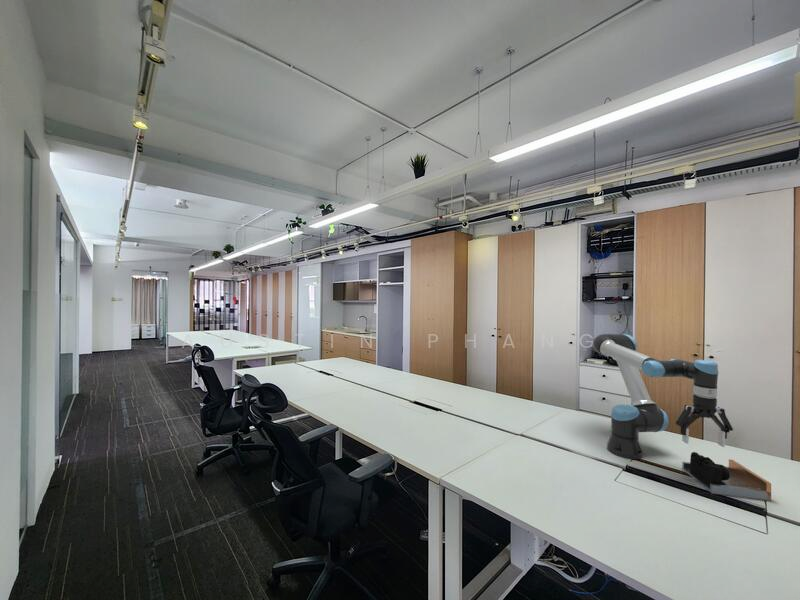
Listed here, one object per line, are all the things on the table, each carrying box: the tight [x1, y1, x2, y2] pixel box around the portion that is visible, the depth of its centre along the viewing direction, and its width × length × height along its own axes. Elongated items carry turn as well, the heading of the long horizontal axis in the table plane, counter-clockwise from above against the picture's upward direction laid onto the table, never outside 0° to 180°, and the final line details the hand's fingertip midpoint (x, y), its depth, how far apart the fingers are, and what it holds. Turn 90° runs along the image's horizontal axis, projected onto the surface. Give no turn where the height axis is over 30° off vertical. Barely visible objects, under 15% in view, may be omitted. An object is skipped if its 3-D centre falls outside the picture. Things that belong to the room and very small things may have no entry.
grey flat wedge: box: [681, 458, 772, 502], centre depth 138 cm, size 20×19×7 cm
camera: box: [689, 451, 730, 486], centre depth 138 cm, size 14×11×10 cm
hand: (703, 443), depth 140 cm, fingers open, 13 cm apart
